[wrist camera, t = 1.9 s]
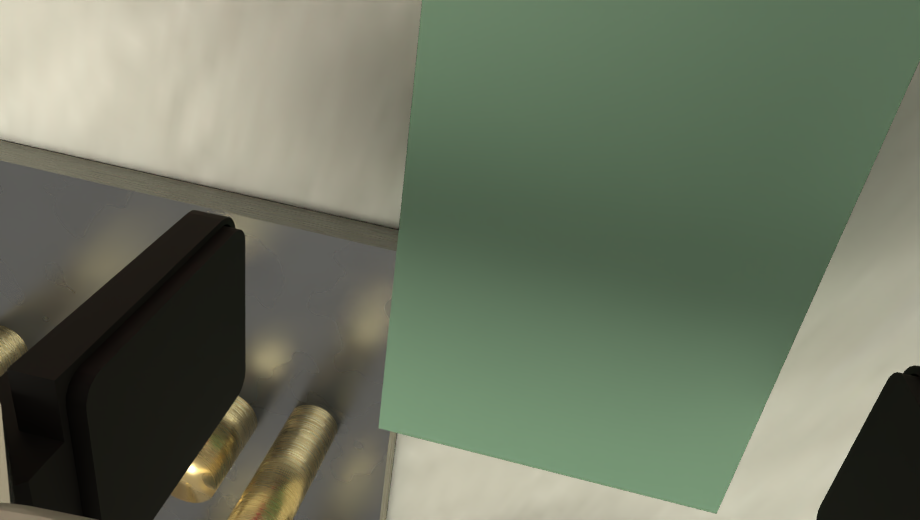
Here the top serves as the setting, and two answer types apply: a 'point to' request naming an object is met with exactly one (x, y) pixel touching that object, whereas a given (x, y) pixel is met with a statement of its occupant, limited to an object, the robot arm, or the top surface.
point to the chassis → (266, 328)
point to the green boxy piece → (626, 222)
